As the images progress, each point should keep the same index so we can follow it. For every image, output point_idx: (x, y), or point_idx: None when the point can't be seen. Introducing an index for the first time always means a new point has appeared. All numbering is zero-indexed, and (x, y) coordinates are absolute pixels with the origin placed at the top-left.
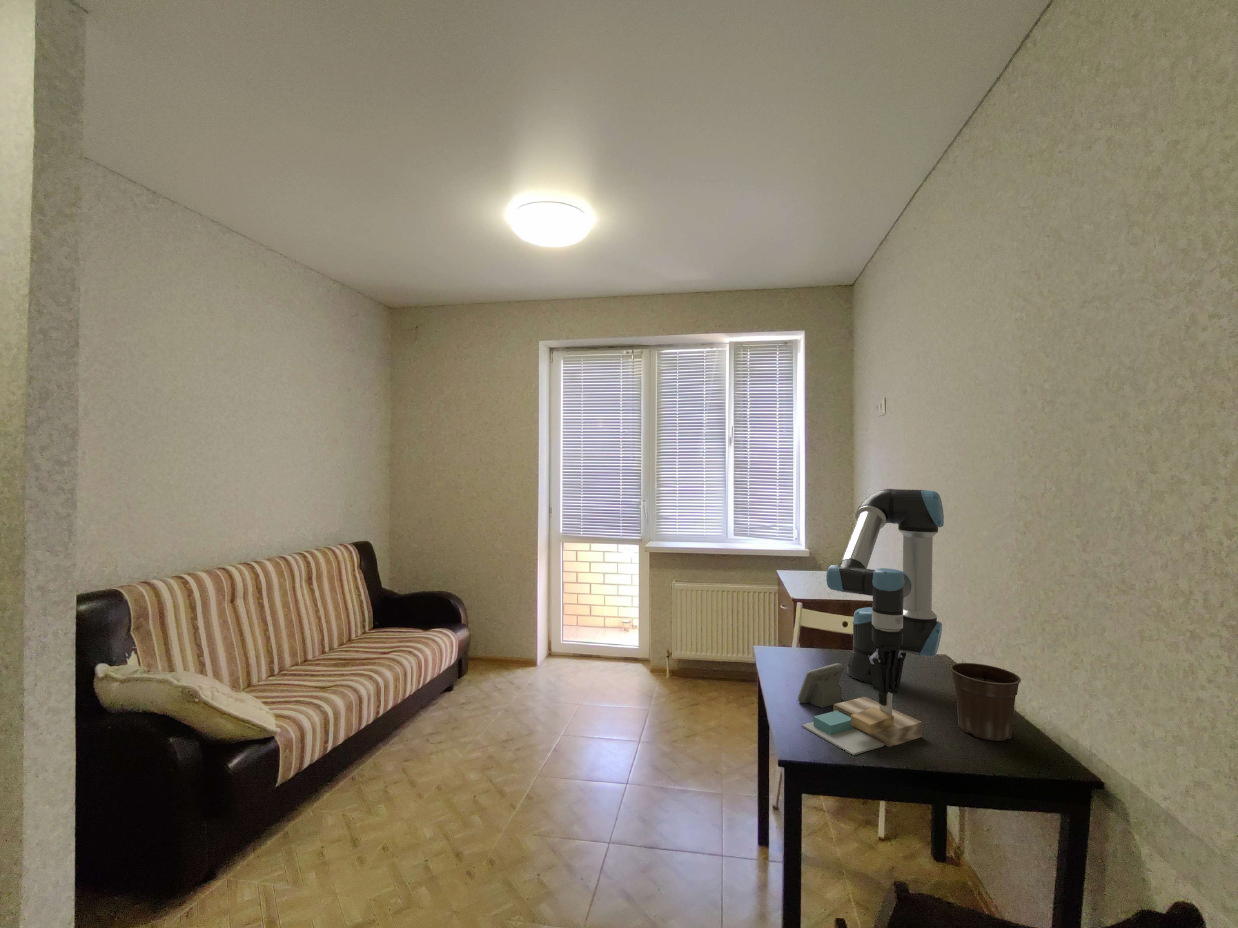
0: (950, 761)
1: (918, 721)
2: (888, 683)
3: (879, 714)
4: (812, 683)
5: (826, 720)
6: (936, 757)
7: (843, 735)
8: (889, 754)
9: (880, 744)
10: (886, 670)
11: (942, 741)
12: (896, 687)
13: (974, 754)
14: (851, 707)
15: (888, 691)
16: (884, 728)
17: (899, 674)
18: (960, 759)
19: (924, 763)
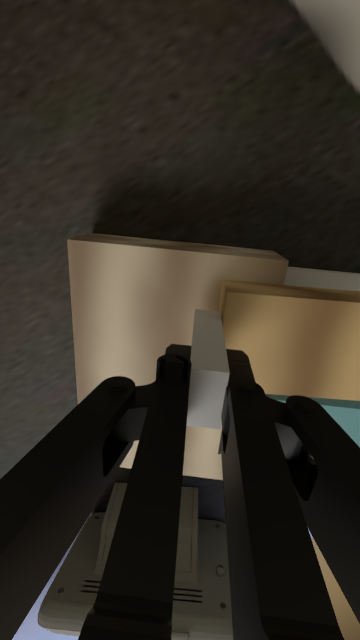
0: (178, 37)
1: (78, 250)
2: (237, 431)
3: (264, 338)
4: (222, 583)
5: (353, 437)
6: (196, 96)
7: None
8: (328, 216)
9: (295, 271)
10: (315, 598)
11: (50, 168)
12: (134, 386)
13: (23, 15)
14: (206, 443)
15: (229, 386)
16: (284, 285)
17: (56, 464)
18: (122, 22)
19: (290, 92)
